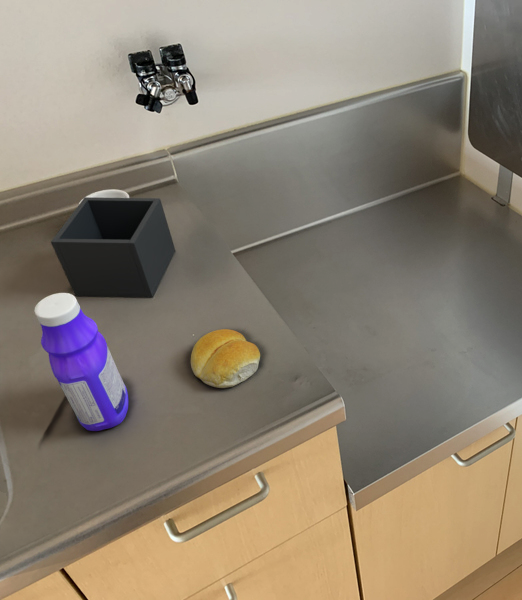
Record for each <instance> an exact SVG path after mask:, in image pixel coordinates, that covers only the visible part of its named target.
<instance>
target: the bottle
mask: <svg viewBox="0 0 522 600" xmlns="http://www.w3.org/2000/svg"><path fill="white" fill-rule="evenodd" d="M34 314H35V316H36V318H37V321H38V323H39V324H40V327H41V331H42V332H41V339H40V344H41V346H42V349H43V350H44V351H45V352H46V353H48V362H49V365H50V368H51V372H52V374H53V376H54V378H55V379H56V380H57V382H58V384H59V386H60V388H61V389H62V391H63V393H64V395H65V398H66V399H67V401H68V403H69V405H70V406H71V408H72V410H73V412H74V414H75V416H76V418H77V421H78V423H79V424H80V425H81V427H82V428H85V430H87V431H91V432H99V431H103V430H106V429H108V430H109V429H111V428H112V429H113V428H114V427H116V426H119V425H120V424H121V423H123V421H124V420H125V419H126V416H127V413H128V410H129V393H128V389H127V386H126V385H125V383H124V380H123V378H122V376H121V374H120V372H119V370H118V367H117V365H116V363H115V360H114V358H113V356H112V354H111V351H110V348H109V346H108V345H107V341H106V339H105V337H104V335H103V334H102V333H101V332H100V331H99V328H98V325H97V323H96V321H94V320H93V318H91V317H89V316H87V315H86V314H85V313H84V312H83V310H82V308H81V306H80V304H79V301H78V300H77V298H76V296H75V295H73V294H72V293H68V292H58V293H53V294H50V295H48V296H46V297H44V298H42V299H41V300H39V302H38V303H37V304H36V305H35V306H34Z"/></svg>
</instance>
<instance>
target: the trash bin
mask: <svg viewBox="0 0 522 600" xmlns="http://www.w3.org/2000/svg"><path fill="white" fill-rule="evenodd" d="M83 198H84V199H83ZM83 198H82V199H83V200H82V199H81V200H82V202H81V203H80V202H79V203H80V204H79V203H78V205H77V206H76V208H75V209H74V211H73V212H72V213H71V214H70V216H69V217H68V219H67V220H65V222H64V224H63V225H62V226H61V227H60V229H59V230H58V231H57V233H56V234H55V236H53V238H52V239H51V241H50V243H51V246H52V248H53V250H54V252H55V255H56V256H57V259H58V261H59V264H60V266H61V268H62V270H63V273H64V275H65V276H66V279H67V281H68V283H69V286H70V287H71V289H72V291H73V294H74V297H93V298H94V297H98V298H154V296H155V294H156V292H157V290H158V288H159V286H160V284H161V282H162V279H163V278H164V276H165V273H166V272H167V269H168V268H169V265H170V263H171V262H172V259H173V257H174V256H175V253H176V248H175V244H174V240H173V238H172V234H171V230H170V226H169V224H168V221H167V217H166V214H165V210H164V206H163V203H162V200H161V198H160V197H159V198H158V197H157V198H156V197H154V198H153V197H129V198H93V197H90V198H89V197H86V196H85V197H83Z"/></svg>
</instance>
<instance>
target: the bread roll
mask: <svg viewBox="0 0 522 600" xmlns="http://www.w3.org/2000/svg"><path fill="white" fill-rule="evenodd" d="M260 360H261V353H260V349H259V347H258V346H257V345H256V344H255V343H253V342H250V341H247V339H246V338H245V336H244V335H243V334H242V333H240V332H238V331H237V330H233V329H228V328H222V329H216V330H212V331H211V332H207V333H206V334H204V335H203V336H202V337H200V338H199V339H198V340H197V341H196V343H195V344H194V345H193V348H192V351H191V355H190V366H191V370H192V373H193V375H195V377H196V378H198V379H199V380H201V381H202V382H203V383H204V384H206V385H208V386H210V387H214V388H217V389H218V388H219V389H226V388H231V387H235V386H237V385H238V384H240V383H243V382H245V381H246V380H247V379H249V378H250V377H252V376H253V375H254V374H255V373H256V372H257V371H258V370H259V369H258V368H259V362H260Z"/></svg>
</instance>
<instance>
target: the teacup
mask: <svg viewBox="0 0 522 600" xmlns="http://www.w3.org/2000/svg"><path fill="white" fill-rule="evenodd" d="M85 197H89V198H90V197H93V198H130V195H129V193H127V192H126V191H124V190H121V189H113V188H112V189H111V188H110V189H103V190H98V191H96V192H92V193H89V194H88V195H86V196H85ZM85 197H83V198H82V199H81V200H80V201H79V203H78V205H79V204H80V203H81V202H82V200H83V199H84V198H85Z"/></svg>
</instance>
